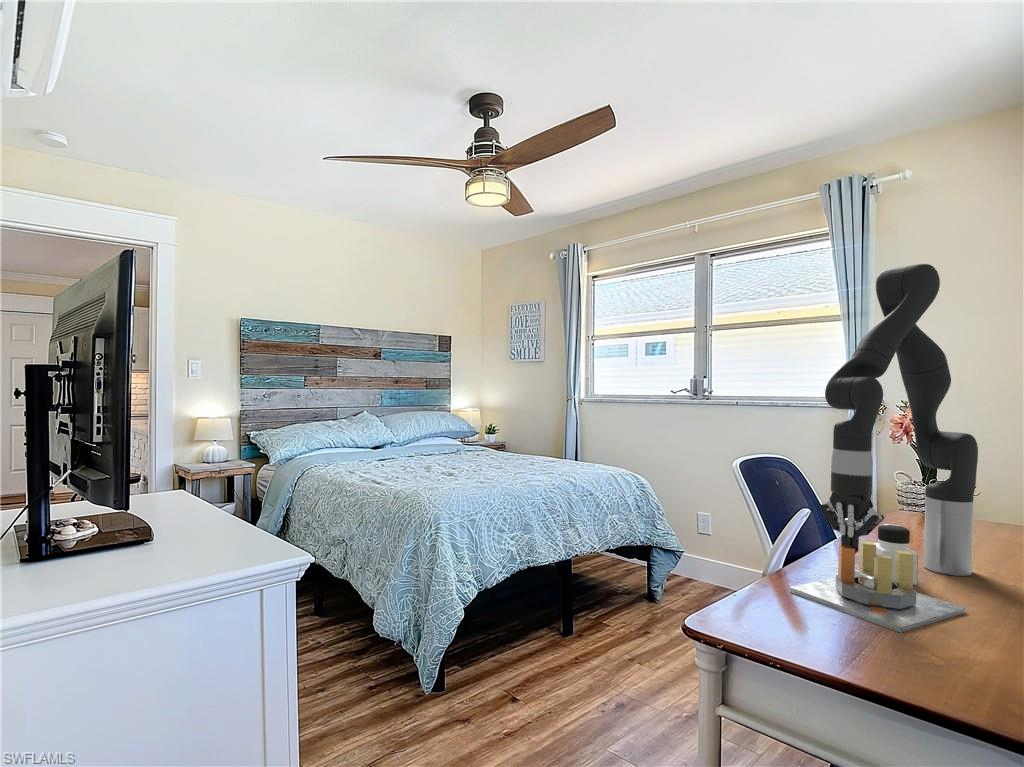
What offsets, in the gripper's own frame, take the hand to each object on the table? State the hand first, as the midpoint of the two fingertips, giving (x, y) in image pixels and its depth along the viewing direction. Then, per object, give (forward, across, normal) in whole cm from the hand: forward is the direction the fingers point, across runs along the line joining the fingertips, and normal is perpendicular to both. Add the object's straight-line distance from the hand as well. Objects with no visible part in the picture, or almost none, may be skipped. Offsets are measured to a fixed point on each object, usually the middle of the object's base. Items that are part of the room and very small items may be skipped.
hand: (849, 553), depth 121 cm
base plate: (+8, -5, 0) cm, 10 cm away
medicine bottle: (+8, +2, -19) cm, 21 cm away
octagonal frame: (+7, -5, 0) cm, 9 cm away
